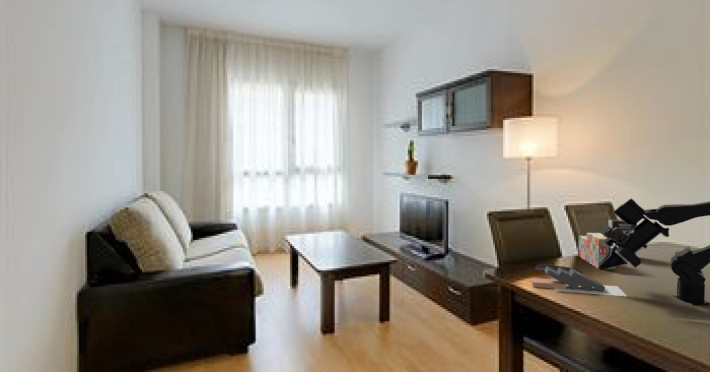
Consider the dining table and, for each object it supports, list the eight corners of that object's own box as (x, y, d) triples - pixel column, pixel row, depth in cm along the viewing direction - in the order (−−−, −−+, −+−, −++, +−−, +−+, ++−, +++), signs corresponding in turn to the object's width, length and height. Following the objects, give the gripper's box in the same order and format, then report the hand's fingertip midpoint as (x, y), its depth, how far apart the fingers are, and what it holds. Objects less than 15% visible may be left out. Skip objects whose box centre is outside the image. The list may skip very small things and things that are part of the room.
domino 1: (575, 280, 134) (546, 266, 136) (578, 285, 129) (548, 270, 132) (573, 284, 134) (544, 270, 137) (576, 289, 129) (546, 274, 132)
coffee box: (611, 258, 170) (612, 220, 169) (607, 254, 176) (607, 218, 175) (636, 259, 167) (637, 221, 166) (631, 255, 173) (631, 219, 172)
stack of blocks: (578, 256, 175) (578, 228, 174) (593, 256, 174) (593, 228, 173) (598, 269, 154) (598, 238, 153) (616, 270, 153) (616, 238, 152)
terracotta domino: (563, 280, 135) (531, 277, 138) (566, 284, 130) (533, 282, 133) (563, 284, 135) (531, 282, 138) (566, 289, 130) (533, 286, 133)
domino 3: (601, 283, 131) (571, 268, 134) (605, 287, 126) (573, 272, 129) (598, 287, 131) (568, 272, 134) (602, 292, 127) (571, 276, 129)
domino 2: (588, 282, 132) (559, 267, 135) (592, 286, 128) (561, 271, 130) (586, 286, 133) (556, 271, 135) (589, 291, 128) (558, 275, 131)
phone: (576, 274, 146) (534, 267, 156) (576, 277, 146) (534, 270, 156) (582, 269, 152) (540, 263, 162) (582, 272, 152) (540, 265, 162)
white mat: (617, 288, 132) (617, 286, 132) (627, 298, 122) (627, 296, 122) (550, 283, 138) (550, 281, 138) (555, 292, 129) (555, 290, 129)
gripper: (611, 213, 135) (574, 244, 139) (628, 222, 117) (586, 256, 122) (638, 237, 133) (599, 267, 137) (660, 249, 115) (615, 284, 119)
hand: (599, 268), depth 129 cm, fingers closed
